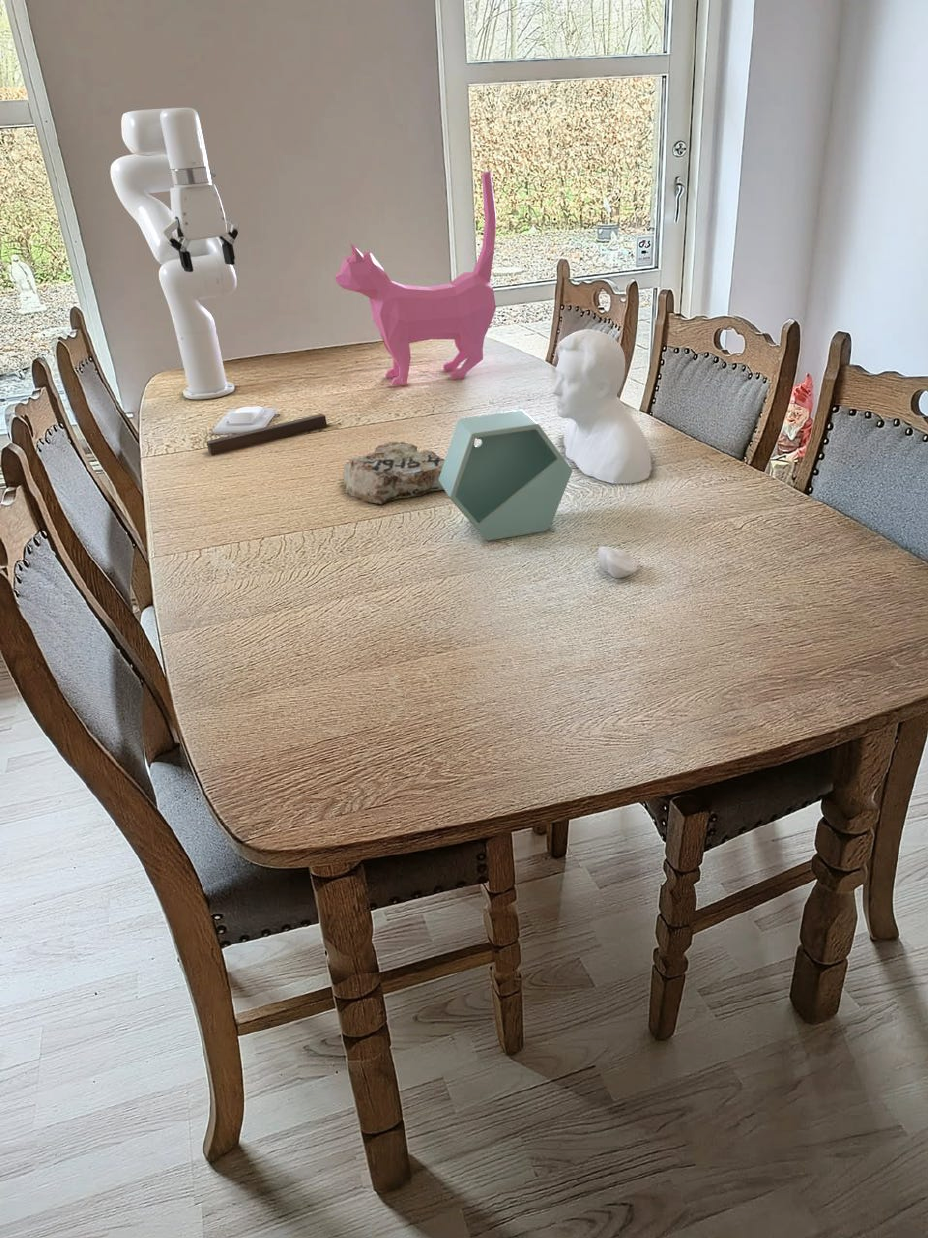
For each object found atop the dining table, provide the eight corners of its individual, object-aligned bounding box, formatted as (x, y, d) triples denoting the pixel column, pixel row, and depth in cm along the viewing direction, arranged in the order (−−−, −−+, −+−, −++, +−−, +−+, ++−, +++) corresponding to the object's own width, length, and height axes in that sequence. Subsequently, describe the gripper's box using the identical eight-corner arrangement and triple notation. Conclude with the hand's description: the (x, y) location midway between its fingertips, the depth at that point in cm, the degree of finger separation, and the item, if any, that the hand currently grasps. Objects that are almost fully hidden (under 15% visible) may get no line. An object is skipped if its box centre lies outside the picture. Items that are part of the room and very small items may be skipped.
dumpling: (588, 570, 124) (592, 543, 122) (621, 569, 125) (625, 543, 124) (610, 583, 117) (613, 554, 116) (644, 582, 119) (648, 554, 118)
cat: (346, 381, 219) (320, 183, 196) (495, 362, 226) (487, 169, 203) (352, 394, 208) (325, 186, 185) (509, 374, 215) (502, 171, 192)
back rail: (208, 452, 178) (206, 441, 176) (323, 424, 189) (321, 413, 188) (211, 455, 176) (209, 443, 175) (327, 426, 188) (325, 415, 186)
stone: (359, 483, 143) (319, 438, 162) (363, 515, 146) (323, 467, 165) (465, 462, 149) (414, 421, 168) (466, 493, 152) (416, 449, 171)
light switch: (209, 419, 186) (228, 398, 197) (214, 437, 189) (232, 415, 199) (257, 417, 185) (274, 396, 196) (261, 435, 187) (277, 414, 198)
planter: (506, 564, 136) (427, 472, 125) (492, 544, 143) (416, 454, 132) (591, 495, 134) (518, 395, 123) (573, 478, 140) (502, 381, 129)
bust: (520, 445, 170) (516, 321, 158) (605, 427, 175) (607, 306, 163) (591, 492, 147) (593, 352, 135) (686, 470, 153) (695, 334, 141)
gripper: (221, 174, 183) (237, 260, 191) (143, 182, 173) (164, 272, 182) (238, 173, 178) (254, 262, 186) (159, 182, 168) (179, 275, 177)
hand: (209, 267), depth 184 cm, fingers open, 9 cm apart
